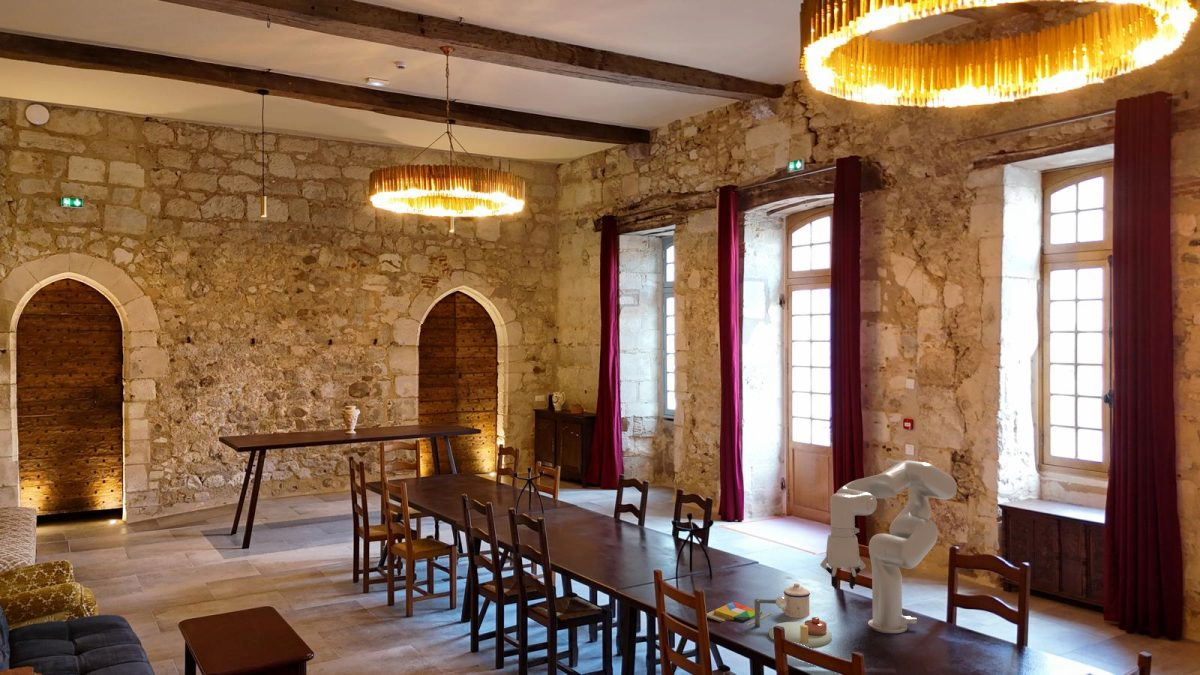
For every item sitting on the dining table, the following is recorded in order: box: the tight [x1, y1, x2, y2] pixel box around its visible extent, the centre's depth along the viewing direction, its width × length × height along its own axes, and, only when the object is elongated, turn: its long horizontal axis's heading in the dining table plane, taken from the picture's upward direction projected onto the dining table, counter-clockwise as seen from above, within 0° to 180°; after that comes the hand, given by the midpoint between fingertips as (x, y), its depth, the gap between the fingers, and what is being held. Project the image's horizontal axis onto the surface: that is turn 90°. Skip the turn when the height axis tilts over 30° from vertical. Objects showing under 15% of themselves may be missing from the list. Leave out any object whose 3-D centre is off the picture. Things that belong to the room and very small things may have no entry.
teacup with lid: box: [780, 582, 811, 619], centre depth 304 cm, size 12×9×12 cm
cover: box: [804, 616, 828, 636], centre depth 282 cm, size 7×7×5 cm
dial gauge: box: [753, 596, 787, 628], centre depth 292 cm, size 12×5×11 cm, turn 85°
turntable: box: [768, 621, 833, 648], centre depth 282 cm, size 20×20×6 cm
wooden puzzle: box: [706, 601, 772, 627], centre depth 305 cm, size 17×19×4 cm
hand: (843, 587), depth 281 cm, fingers open, 4 cm apart
